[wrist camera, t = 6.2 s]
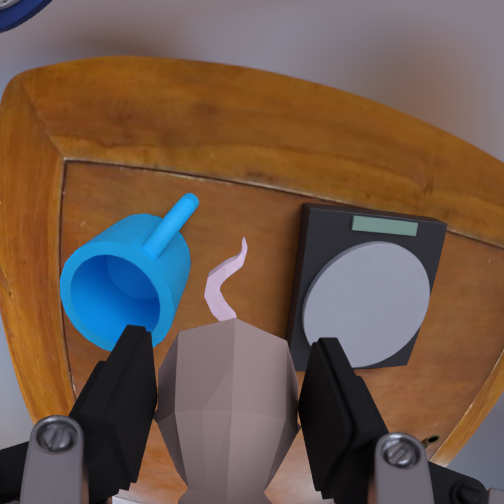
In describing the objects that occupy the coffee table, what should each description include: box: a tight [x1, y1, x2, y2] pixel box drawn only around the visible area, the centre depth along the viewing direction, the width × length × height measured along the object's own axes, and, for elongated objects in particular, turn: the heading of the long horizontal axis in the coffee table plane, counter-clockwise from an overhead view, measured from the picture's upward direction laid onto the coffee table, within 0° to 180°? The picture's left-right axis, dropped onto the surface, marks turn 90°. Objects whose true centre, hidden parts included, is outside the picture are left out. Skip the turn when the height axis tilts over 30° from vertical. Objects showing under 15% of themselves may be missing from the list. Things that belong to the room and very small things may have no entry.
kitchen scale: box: [285, 203, 447, 371], centre depth 27 cm, size 15×13×3 cm
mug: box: [60, 193, 199, 352], centre depth 22 cm, size 12×8×8 cm
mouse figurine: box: [153, 237, 301, 504], centre depth 8 cm, size 5×8×7 cm, turn 173°
